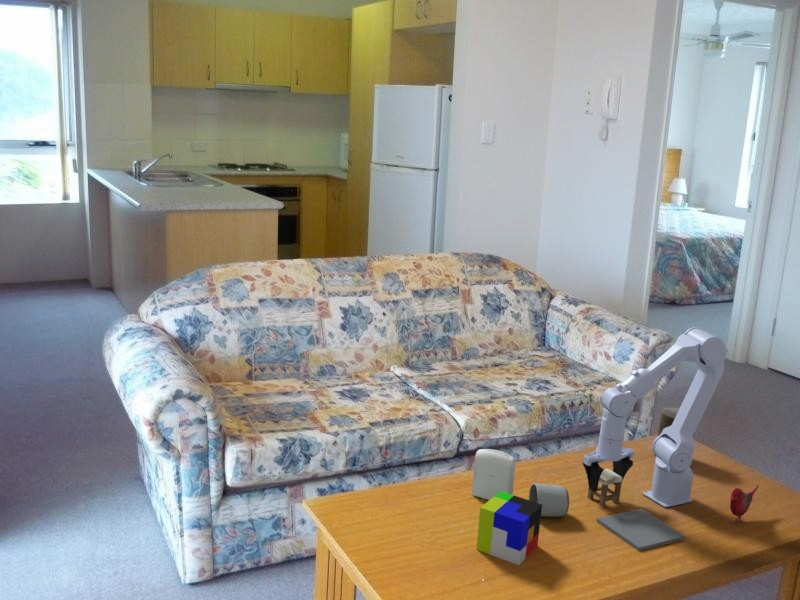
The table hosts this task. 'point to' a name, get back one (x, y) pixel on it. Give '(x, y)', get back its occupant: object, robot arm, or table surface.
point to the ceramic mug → (550, 499)
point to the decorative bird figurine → (741, 502)
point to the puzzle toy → (509, 527)
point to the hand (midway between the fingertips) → (604, 487)
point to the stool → (606, 479)
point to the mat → (640, 529)
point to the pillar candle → (667, 419)
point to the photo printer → (492, 473)
